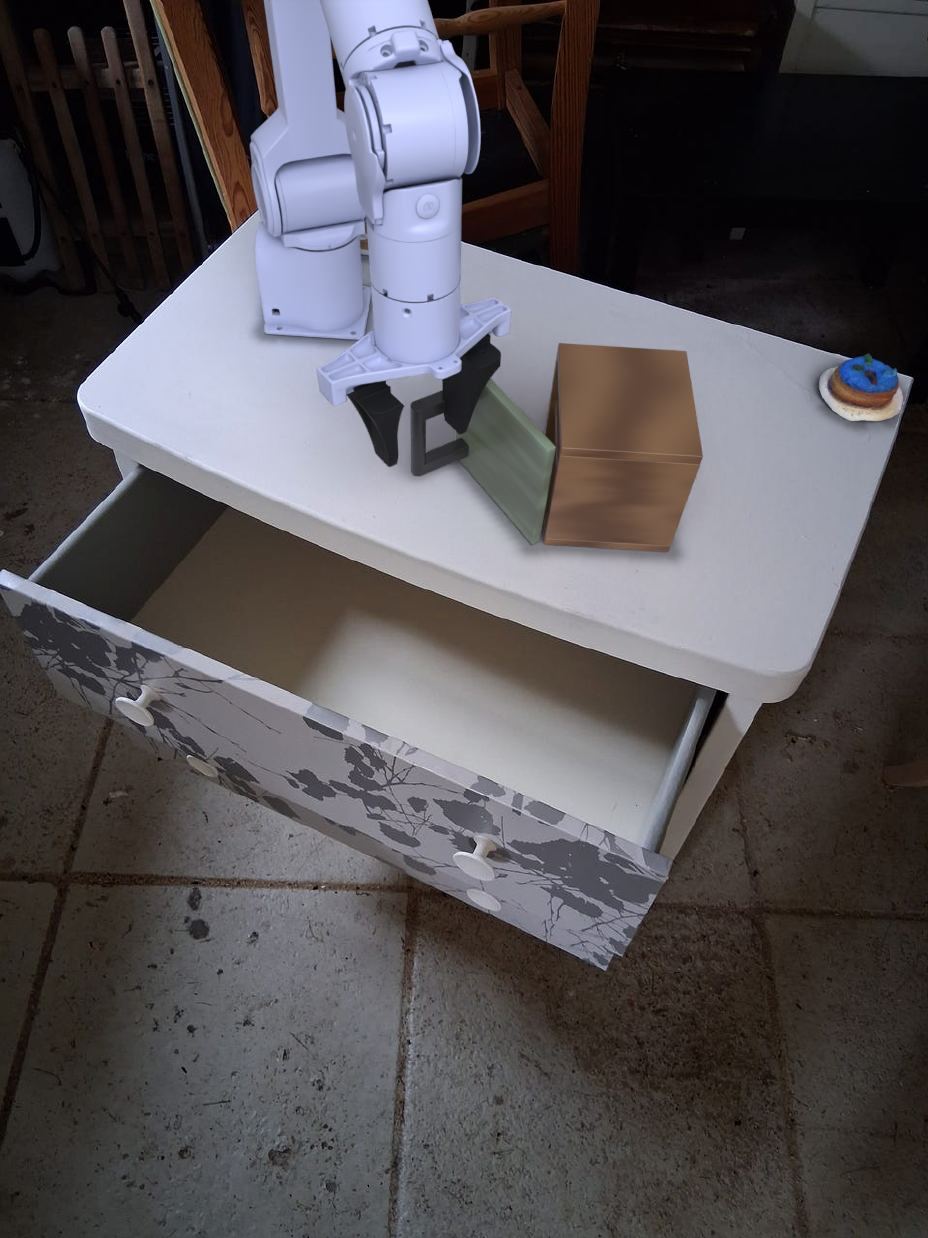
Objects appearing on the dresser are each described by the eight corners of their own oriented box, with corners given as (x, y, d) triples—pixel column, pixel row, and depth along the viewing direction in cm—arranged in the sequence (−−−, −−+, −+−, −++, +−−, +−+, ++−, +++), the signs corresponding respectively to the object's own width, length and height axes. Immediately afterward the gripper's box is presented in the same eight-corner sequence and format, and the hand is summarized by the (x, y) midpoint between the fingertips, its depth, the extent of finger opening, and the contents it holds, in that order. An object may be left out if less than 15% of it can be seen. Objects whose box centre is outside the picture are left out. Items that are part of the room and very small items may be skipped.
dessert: (833, 420, 80) (847, 351, 78) (800, 412, 86) (812, 348, 84) (916, 426, 81) (932, 358, 79) (878, 417, 87) (891, 354, 85)
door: (478, 570, 69) (486, 477, 61) (402, 476, 74) (400, 378, 66) (540, 541, 71) (556, 446, 63) (462, 451, 76) (467, 353, 68)
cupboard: (543, 545, 71) (561, 447, 62) (542, 443, 78) (558, 342, 69) (668, 552, 71) (703, 456, 62) (656, 450, 78) (686, 350, 69)
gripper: (349, 348, 52) (366, 513, 62) (544, 270, 57) (528, 435, 68) (290, 291, 55) (316, 456, 66) (479, 223, 60) (474, 386, 71)
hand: (420, 442), depth 67 cm, fingers open, 5 cm apart
